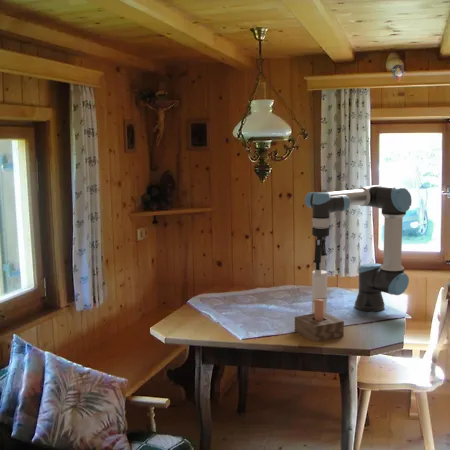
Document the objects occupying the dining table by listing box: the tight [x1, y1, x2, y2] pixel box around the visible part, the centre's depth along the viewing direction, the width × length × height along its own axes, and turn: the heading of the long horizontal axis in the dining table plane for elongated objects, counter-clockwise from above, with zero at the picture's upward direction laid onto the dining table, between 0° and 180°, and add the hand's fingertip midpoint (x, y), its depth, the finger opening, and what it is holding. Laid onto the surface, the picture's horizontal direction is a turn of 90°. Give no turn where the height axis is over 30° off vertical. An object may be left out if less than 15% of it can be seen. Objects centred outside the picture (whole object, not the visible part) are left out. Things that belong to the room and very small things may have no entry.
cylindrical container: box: [311, 270, 328, 314], centre depth 308 cm, size 7×7×25 cm
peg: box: [315, 299, 324, 322], centre depth 292 cm, size 4×4×16 cm
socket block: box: [294, 312, 345, 342], centre depth 292 cm, size 16×16×7 cm
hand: (319, 273), depth 288 cm, fingers open, 13 cm apart
